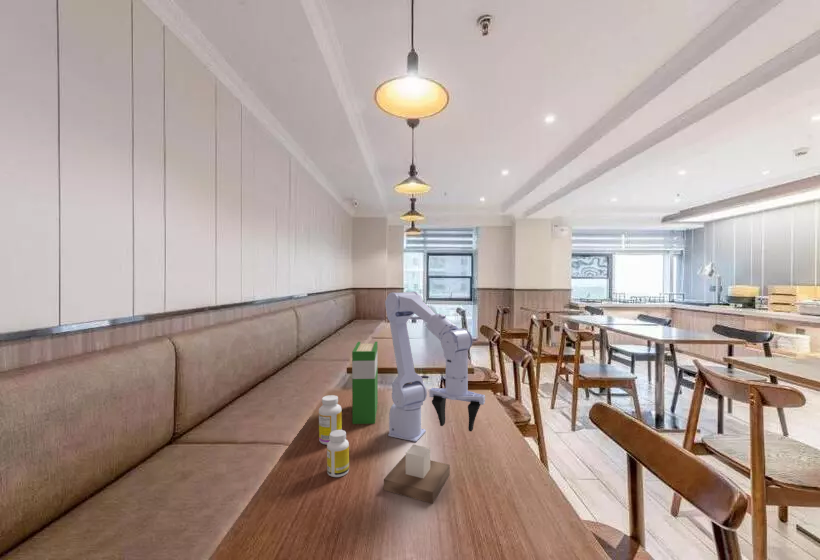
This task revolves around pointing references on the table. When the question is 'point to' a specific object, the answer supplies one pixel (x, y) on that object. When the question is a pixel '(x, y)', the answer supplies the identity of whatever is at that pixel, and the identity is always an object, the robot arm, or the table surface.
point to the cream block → (418, 461)
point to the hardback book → (364, 383)
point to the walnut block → (417, 481)
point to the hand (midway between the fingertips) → (456, 427)
